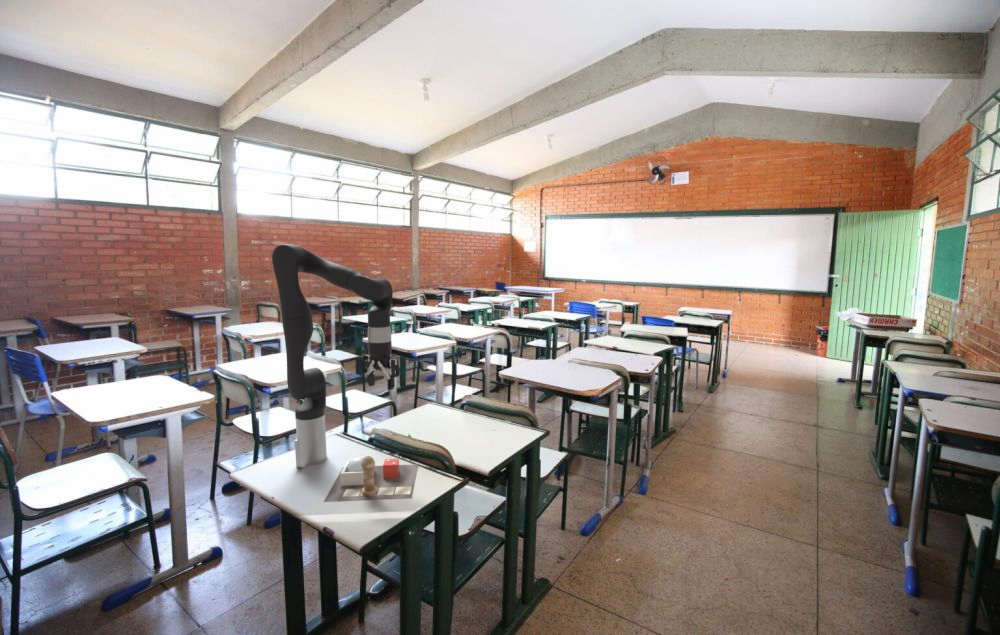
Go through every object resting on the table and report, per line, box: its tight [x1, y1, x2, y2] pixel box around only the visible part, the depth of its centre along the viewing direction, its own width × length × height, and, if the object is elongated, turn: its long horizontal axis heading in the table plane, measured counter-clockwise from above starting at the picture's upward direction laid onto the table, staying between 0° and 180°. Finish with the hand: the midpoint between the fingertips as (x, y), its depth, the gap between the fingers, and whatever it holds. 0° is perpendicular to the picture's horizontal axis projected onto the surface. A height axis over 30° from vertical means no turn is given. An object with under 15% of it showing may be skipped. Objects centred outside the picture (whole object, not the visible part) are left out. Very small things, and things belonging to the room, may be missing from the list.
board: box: [323, 464, 419, 503], centre depth 146 cm, size 25×22×2 cm
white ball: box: [348, 456, 364, 472], centre depth 148 cm, size 6×6×6 cm
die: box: [382, 458, 400, 479], centre depth 150 cm, size 4×4×4 cm
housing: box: [339, 459, 376, 486], centre depth 148 cm, size 9×9×4 cm
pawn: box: [361, 455, 377, 495], centre depth 139 cm, size 4×4×11 cm
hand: (381, 387), depth 156 cm, fingers open, 8 cm apart
